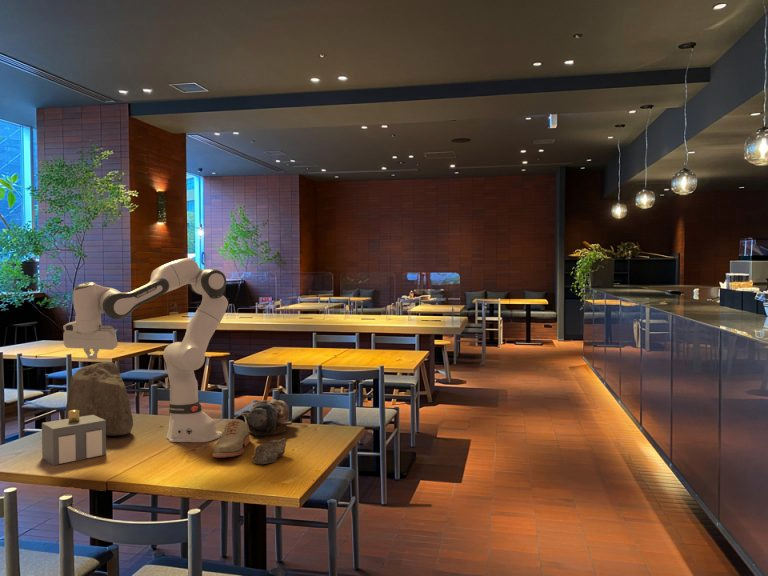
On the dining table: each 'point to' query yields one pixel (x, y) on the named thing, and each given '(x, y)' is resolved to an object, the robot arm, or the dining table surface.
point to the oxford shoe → (232, 438)
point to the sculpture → (267, 418)
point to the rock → (269, 451)
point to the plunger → (93, 443)
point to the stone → (101, 397)
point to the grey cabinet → (65, 428)
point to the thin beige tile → (66, 448)
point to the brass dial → (73, 416)
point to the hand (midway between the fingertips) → (92, 358)
